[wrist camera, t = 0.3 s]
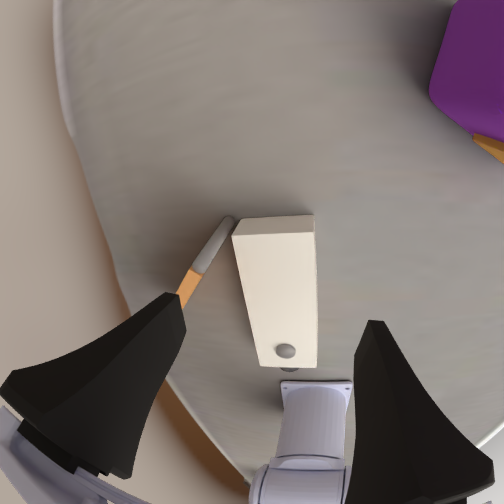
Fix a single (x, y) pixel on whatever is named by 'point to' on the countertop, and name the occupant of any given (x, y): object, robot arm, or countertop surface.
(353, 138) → the countertop surface
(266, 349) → the cream tapered panel
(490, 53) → the toy camera
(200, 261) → the side door
